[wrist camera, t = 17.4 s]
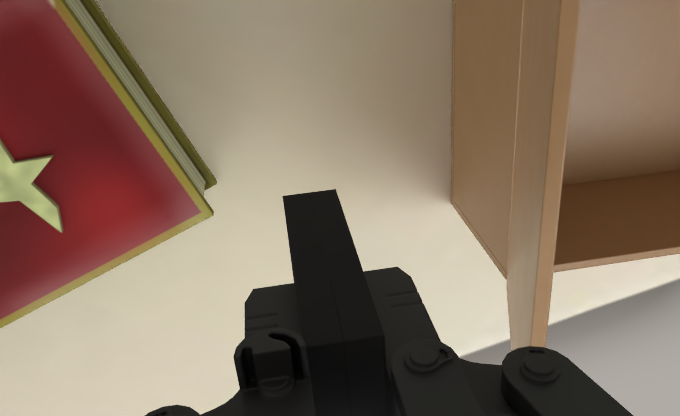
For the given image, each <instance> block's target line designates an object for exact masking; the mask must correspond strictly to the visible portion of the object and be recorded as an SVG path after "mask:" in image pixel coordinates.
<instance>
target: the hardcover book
mask: <svg viewBox="0 0 680 416" xmlns="http://www.w3.org/2000/svg"><path fill="white" fill-rule="evenodd" d="M216 183H217V181H216V179H215V178H214V176H213V175H212V173H211V172H210V170H209V169H208V168H207V166H206V165H205V163H204V162H203V160H202V159H201V157H200V156H199V154H198V153H197V151H196V150H195V148H194V147H193V146H192V144H191V143H190V141H189V140H188V138H187V137H186V135H185V134H184V132H183V131H182V129H181V128H180V126H179V125H178V124H177V122H176V121H175V119H174V118H173V116H172V115H171V113H170V112H169V110H168V109H167V107H166V106H165V104H164V103H163V102H162V100H161V99H160V97H159V96H158V94H157V93H156V91H155V90H154V88H153V87H152V85H151V84H150V82H149V81H148V80H147V78H146V77H145V75H144V74H143V72H142V71H141V69H140V68H139V66H138V65H137V63H136V62H135V60H134V59H133V58H132V56H131V55H130V53H129V52H128V50H127V49H126V47H125V46H124V44H123V43H122V41H121V40H120V38H119V37H118V36H117V34H116V33H115V31H114V30H113V28H112V27H111V25H110V24H109V22H108V21H107V19H106V18H105V16H104V15H103V14H102V12H101V11H100V9H99V8H98V6H97V5H96V3H95V2H94V0H0V328H2V327H4V326H5V325H7V324H9V323H11V322H13V321H15V320H17V319H19V318H20V317H22V316H24V315H26V314H28V313H30V312H32V311H34V310H36V309H37V308H39V307H41V306H43V305H45V304H47V303H49V302H51V301H52V300H54V299H56V298H58V297H60V296H62V295H64V294H66V293H68V292H69V291H71V290H73V289H75V288H77V287H79V286H81V285H83V284H84V283H86V282H88V281H90V280H92V279H94V278H96V277H98V276H100V275H101V274H103V273H105V272H107V271H109V270H111V269H113V268H115V267H116V266H118V265H120V264H122V263H124V262H126V261H128V260H130V259H132V258H133V257H135V256H137V255H139V254H141V253H143V252H145V251H147V250H148V249H150V248H152V247H154V246H156V245H158V244H160V243H162V242H164V241H165V240H167V239H169V238H171V237H173V236H175V235H177V234H179V233H181V232H182V231H184V230H186V229H188V228H190V227H192V226H194V225H196V224H197V223H199V222H201V221H203V220H205V219H207V218H209V217H211V216H213V213H214V211H213V210H212V208H211V207H210V205H209V204H208V203H207V201H206V200H205V198H204V190H206V189H208V188H210V187H212V186H214V185H216Z"/></svg>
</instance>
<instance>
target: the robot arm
mask: <svg viewBox="0 0 680 416" xmlns="http://www.w3.org/2000/svg"><path fill="white" fill-rule="evenodd" d="M283 201H284V209H285V216H286V224H287V232H288V239H289V247H290V254H291V262H292V269H293V277H294V283H292V284H285V285H278V286H271V287H264V288H257V289H253V291H252V292H251V294H250V295H249V297H248V299H247V300H246V302H245V339H244V340H243V341H242V342H241V343H240V344H239V345H238V346H237V347H236V351H235V354H234V362H235V366H236V371H237V376H238V381H239V386H240V390H239V391H238V392H237V393H236V395H235V396H234V397H233V398H231V399H230V400H229V401H228V402H226V403H225V404H223V405H221V406H219V407H217V408H215V409H213V410H211V411H208V412H206V413H204V414H201V415H199V413H198V412H196V411H195V410H193V409H192V408H190V407H186V406H181V405H173V406H166V407H162V408H159V409H157V410H154V411H152V412H149V413H148V414H147V415H145V416H633V415H632V414H631V413H630V412H629V411H627V410H626V409H625V408H624V407H623V406H622V405H620V404H619V403H618V402H617V401H616V400H615V399H614V398H612V397H611V396H610V395H609V394H608V393H607V392H606V391H604V390H603V389H602V388H601V387H600V386H599V385H597V384H596V383H595V382H594V381H593V380H592V379H591V378H590V377H588V376H587V375H586V374H585V373H584V372H583V371H582V370H580V369H579V368H578V367H577V366H576V365H575V364H573V363H572V362H571V361H570V360H569V359H568V358H566V357H565V356H563V355H561V354H560V353H558V352H557V351H554V350H550V349H547V348H545V347H536V346H526V347H521V348H516V349H515V350H513V351H511V352H510V353H508V354H507V355H506V357H505V359H504V360H503V362H502V365H492V364H480V363H474V362H469V361H466V360H463V359H460V358H458V356H457V354H456V353H455V352H454V351H453V349H452V348H451V347H449V346H447V345H445V344H444V343H442V342H441V341H440V339H439V336H438V334H437V332H436V330H435V328H434V326H433V323H432V321H431V319H430V317H429V315H428V313H427V310H426V308H425V306H424V304H422V300H421V298H420V295H419V293H417V289H416V287H415V285H414V282H413V280H412V278H411V277H410V276H409V275H408V274H406V273H405V272H404V271H402V270H401V269H400V268H398V267H392V268H385V269H379V270H372V271H365V272H363V270H362V267H361V264H360V261H359V258H358V255H357V252H356V249H355V246H354V243H353V240H352V237H351V234H350V231H349V228H348V225H347V222H346V219H345V216H344V213H343V210H342V207H341V204H340V201H339V198H338V195H337V192H336V189H334V190H326V191H318V192H311V193H303V194H295V195H288V196H283Z"/></svg>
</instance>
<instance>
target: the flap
mask: <svg viewBox="0 0 680 416" xmlns="http://www.w3.org/2000/svg"><path fill="white" fill-rule="evenodd" d="M580 8H581V0H524V14H523V30H522V47H521V63H520V79H519V95H518V111H517V127H516V144H515V160H514V176H513V192H512V208H511V224H510V241H509V257H508V273H507V299H508V312H509V326H510V340H511V351H513V350H515V349H516V348H521V347H526V346H536V347H546V337H547V327H548V318H549V308H550V298H551V288H552V279H553V269H554V259H555V250H556V240H557V230H558V221H559V211H560V201H561V192H562V182H563V172H564V163H565V153H566V143H567V133H568V124H569V114H570V104H571V95H572V85H573V75H574V66H575V56H576V46H577V37H578V27H579V17H580Z"/></svg>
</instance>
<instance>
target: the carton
mask: <svg viewBox="0 0 680 416" xmlns="http://www.w3.org/2000/svg"><path fill="white" fill-rule="evenodd" d="M523 14H524V0H453V43H452V145H451V204H452V205H453V207H454V208H455V210H456V211H457V212H458V214H459V215H460V216H461V218H462V219H463V221H464V222H465V223H466V225H467V226H468V228H469V229H470V230H471V232H472V233H473V234H474V236H475V237H476V239H477V240H478V241H479V243H480V244H481V246H482V247H483V248H484V250H485V251H486V252H487V254H488V255H489V257H490V258H491V259H492V261H493V262H494V264H495V265H496V266H497V268H498V269H499V271H500V272H501V273H502V275H503V276H504V277H505V279H507V273H508V257H509V241H510V224H511V208H512V192H513V176H514V160H515V144H516V127H517V111H518V95H519V79H520V63H521V47H522V30H523ZM673 254H680V0H581V8H580V17H579V27H578V37H577V46H576V56H575V66H574V75H573V85H572V95H571V104H570V114H569V124H568V133H567V143H566V153H565V163H564V172H563V182H562V192H561V201H560V211H559V221H558V230H557V240H556V250H555V259H554V269H553V272H559V271H566V270H573V269H579V268H586V267H593V266H599V265H606V264H613V263H619V262H626V261H633V260H639V259H646V258H653V257H660V256H666V255H673Z"/></svg>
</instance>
